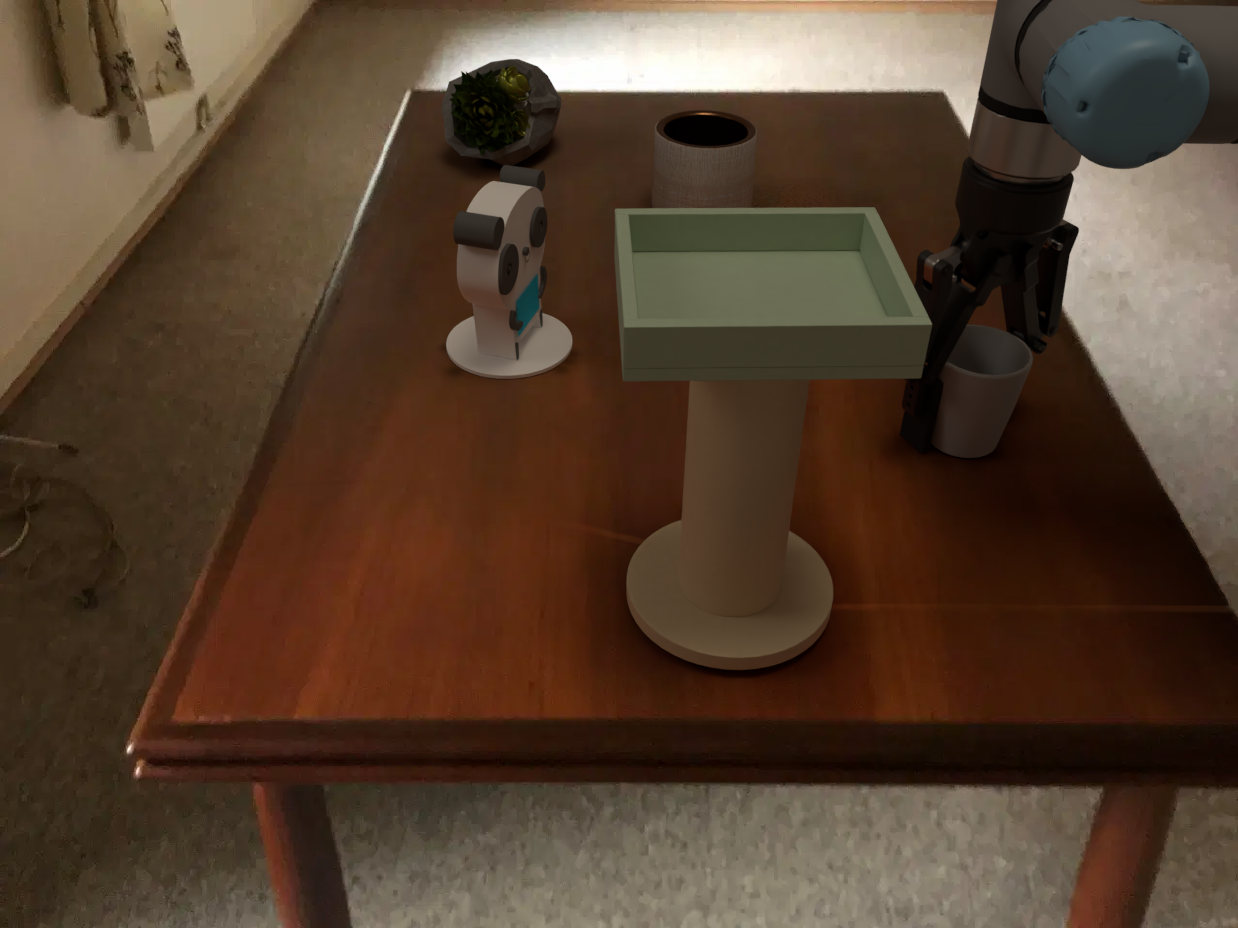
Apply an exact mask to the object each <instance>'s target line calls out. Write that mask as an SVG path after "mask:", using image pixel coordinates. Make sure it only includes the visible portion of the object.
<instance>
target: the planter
mask: <svg viewBox="0 0 1238 928" xmlns="http://www.w3.org/2000/svg"><path fill="white" fill-rule="evenodd" d="M757 138H758V129H757V127H756V126H755V125H754V123H752V121H750V120H748V119H747V118H745V117H742V116H740V115H737V114H734V113H730V112H725V111H719V110H710V109H708V110H707V109H694V110H693V109H692V110H684V111H679V112H674V113H671V114H668V115H666V116H663V117H662V118H661V119H659V120H658V121H657V122H656V123H655V125H654V141H653V142H654V143H653V161H652V162H653V165H652V181H651V201H650V202H651V208H752V206H753V192H754V191H753V190H754V176H755V163H756V151H757V150H756V149H757V140H758V139H757Z"/></svg>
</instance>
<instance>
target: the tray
mask: <svg viewBox="0 0 1238 928" xmlns="http://www.w3.org/2000/svg"><path fill="white" fill-rule="evenodd" d="M613 248H614V250H613V251H614V253H613V254H614V257H613V259H614V271H615V272H614V273H615V274H614V275H615V288H616V300H617V315H618V331H619V332H618V333H619V345H620V361H621V373H622V382H689V386H688V387H689V388H688V402H687V403H688V404H687V405H688V406H687V419H686V421H687V422H686V439H685V441H686V442H685V453H684V454H685V455H684V456H685V457H684V470H683V472H684V473H683V474H684V475H683V488H682V504H681V519H679V520H676V521H673V522H671V523H669V524H667V525H665V526H663V527H661V528H659V529H658V530H656V531H655V532H653V533H651V534H650V535H649V536H648V537H647V538H646V539H644V540H643V541H642V543H640V545H639V546H638V547H637V549H636V550H635V552H634V553H633V554H632V557H631V559H630V561H629V564H628V568H627V571H626V588H625V591H626V592H625V593H626V595H625V596H626V600H627V601H626V602H627V606H628V609H629V611H630V614H631V616H632V618H633V619H634V621H635V623H636V624H637V626H638V627H639V628H640V631H642V632H643V633H644V634H645V635H646V637H648V638H649V639H650V640H651V641H652V642H653V643H654V644H656V646H658V647H660V648H661V649H663V650H664V651H666V652H668V653H669V654H671V655H673V656H675V657H677V658H679V659H682V660H683V661H685V662H690V663H692V664H695V665H699V666H703V667H707V668H712V669H717V670H718V669H719V670H727V671H729V670H730V671H745V670H757V669H763V668H769V667H772V666H775V665H779V664H782V663H784V662H787V661H789V660H792V659H794V658H795V657H797V656H799V655H800V654H802V653H804V652H805V651H807V650H808V649H809V648H810V647H812V646H813V645H814V644H815V643H816V641H818V639H819V638H820V637H821V636H822V635H823V633H824V631H825V630H826V628H827V625H828V623H829V621H830V618H831V613H832V607H833V602H834V583H833V578H832V576H831V573H830V571H829V570H830V569H829V568H828V567H827V564H826V563H825V561H824V560H823V558H822V557H821V555H820V554H819V553H818V552H817V551H816V550H815V548H813V547H812V545H810V544H809V543H808V542H807V541H806V540H804V539H803V538H802V537H800V536H799V535H797V534H796V533H793V531H792V530H791V531H790V527H791V519H792V512H793V505H794V498H795V491H796V483H797V476H798V468H799V463H800V456H801V455H800V454H801V447H802V440H803V433H804V426H805V418H806V411H807V403H808V397H809V388H810V382H811V380H812V381H813V380H815V381H816V380H896V379H899V380H901V379H902V380H904V379H915V378H921V377H922V372H923V367H924V366H923V365H924V362H925V357H926V353H927V348H928V343H929V338H930V334H931V329H932V323H931V321H930V319H929V317H928V314H927V312H926V310H925V308H924V306H923V304H922V302H921V300H920V298H919V296H918V294H917V292H916V290H915V288H914V284H913V282H912V279H911V278H910V275H909V274H908V271H907V269H906V267H905V265H904V263H903V260H901V257H900V255H899V253H898V251H897V248H896V247H895V245H894V243H893V241H892V239H891V237H890V235H889V232H888V231H887V229H886V227H885V224H884V222H883V221H882V218H881V216H880V214H879V213H878V211H877V209H876V207H875V206H873V207H872V206H871V207H870V206H867V207H865V206H863V207H862V206H861V207H860V206H859V207H858V206H854V207H853V206H850V207H848V206H847V207H844V206H843V207H837V206H836V207H835V206H834V207H751V208H652V207H651V208H650V207H649V208H646V207H645V208H644V207H643V208H642V207H640V208H639V207H635V208H632V207H631V208H630V207H629V208H626V207H625V208H615V209H614V247H613Z"/></svg>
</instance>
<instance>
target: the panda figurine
mask: <svg viewBox="0 0 1238 928" xmlns="http://www.w3.org/2000/svg"><path fill="white" fill-rule="evenodd" d="M545 187H546V173H545V171H544V170H543V169H536V168H530V167H523V166H515V165H513V166H510V165H504V166H502V167H501V169H500V171H499V181H497V180H492V181H489V182H488V183H486V184H485V185H483V187H482V188H480V189H479V190H478V192H477V193H476V194H475V196H474V197H473V198H472V200H471V201H470V203H469V205H468V207H467V209H466V210H465V211H464V210H459V211H458V212H457V213H456V216H455V219H454V222H453V233H452V236H453V241H454V243H455V244H456V245H457V254H456V281H457V286H458V287H457V288H458V289H459V292H460V295H462V298H463V299H464V300H465V301H467V303H470V304H471V305H472V312H473V315H472V316H470V317H468V318H466V319H463V320H462V321H461V322H459V323H458V324H456V325H455V326H454V327H453V328H452V329H451V331H449V334H448V335H447V338H446V341H445V347H446V353H447V356H448V357H449V359H450V360H451V361H452V363H453V364H454V365H456V366H457V367H458V368H460V369H461V370H464V371H465V372H468V373H470V374H472V375H475V376H479V377H484V378H489V379H496V380H497V379H498V380H514V379H515V380H516V379H523V378H530V377H534V376H537V375H540V374H544V373H546V372H548V371H551V370H553V369H554V368H556V367H558V366H559V365H561V364H562V363H563V362H564V361H566V359H567V358H568V357H569V355H570V354H571V352H572V349H573V335H572V333H571V331H570V328H569V327H567V325H565V324H564V323H563V322H562V321H561V320H559V319H558V318H556V317H554V316H552V315H549V314H546V313H544V312H543V307H542V297H543V295H544V292H545V289H546V285H547V279H548V271H547V268H546V266H545V265H542V263H543V257H544V252H545V246H546V237H547V233H548V214H547V210H546V208H545V203H544V198H543V195H542V192H543V191H544V189H545Z"/></svg>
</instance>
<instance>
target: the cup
mask: <svg viewBox="0 0 1238 928" xmlns="http://www.w3.org/2000/svg"><path fill="white" fill-rule="evenodd" d="M1033 362H1034V357H1033V352H1031V350H1030V348H1029V347H1028V346H1027V345H1026V343H1024V342H1023V341H1022V340H1020V339H1019V338H1018V337H1016V336H1014V335H1012V334H1010V333H1008V332H1007V330H1006V331H1005V330H1003V329H1000V328H997V327H993V326H988V325H981V324H971V323H970V324H969V323H968V324H967V325H966V327H965V329H964V331H963V333H962V334H961V336H960V338H959V340H958V342H957V344H956V345H955V347H954V349H953V351H952V353H951V354H950V356H949V358H948V360H947V362H946V363H945V365H944V367H943V369H942V371H941V372H940V374H939V376H938V378H939V379H940V380H941V381H942V382H944V384H943V391H942V395H941V400H940V404H939V408H938V413H937V417H936V421H935V426H934V430H933V435H932V439H931V443H930V445H932V446H933V447H934V448H936V449H937V450H939V451H940V452H942V453H944V454H947V455H949V456H951V457H956V458H962V459H975V458H980V457H984V456H987V455H989V454H991V453H992V452H993V451H994V450H996V448H997V446H998V445H999V442H1000V439H1001V437H1002V435H1003V433H1004V431H1005V429H1006V426H1007V424H1008V422H1009V421H1010V420H1009V418H1010V416H1011V414H1012V415H1013V412H1014V409H1015V408H1016V404H1017V402H1018V400H1019V398H1020V395H1021V393H1022V391H1023V387H1024V386H1025V383H1026V380H1027V378H1028V376H1029V374H1030V371H1031V369H1032V366H1033ZM1011 417H1012V416H1011Z"/></svg>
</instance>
